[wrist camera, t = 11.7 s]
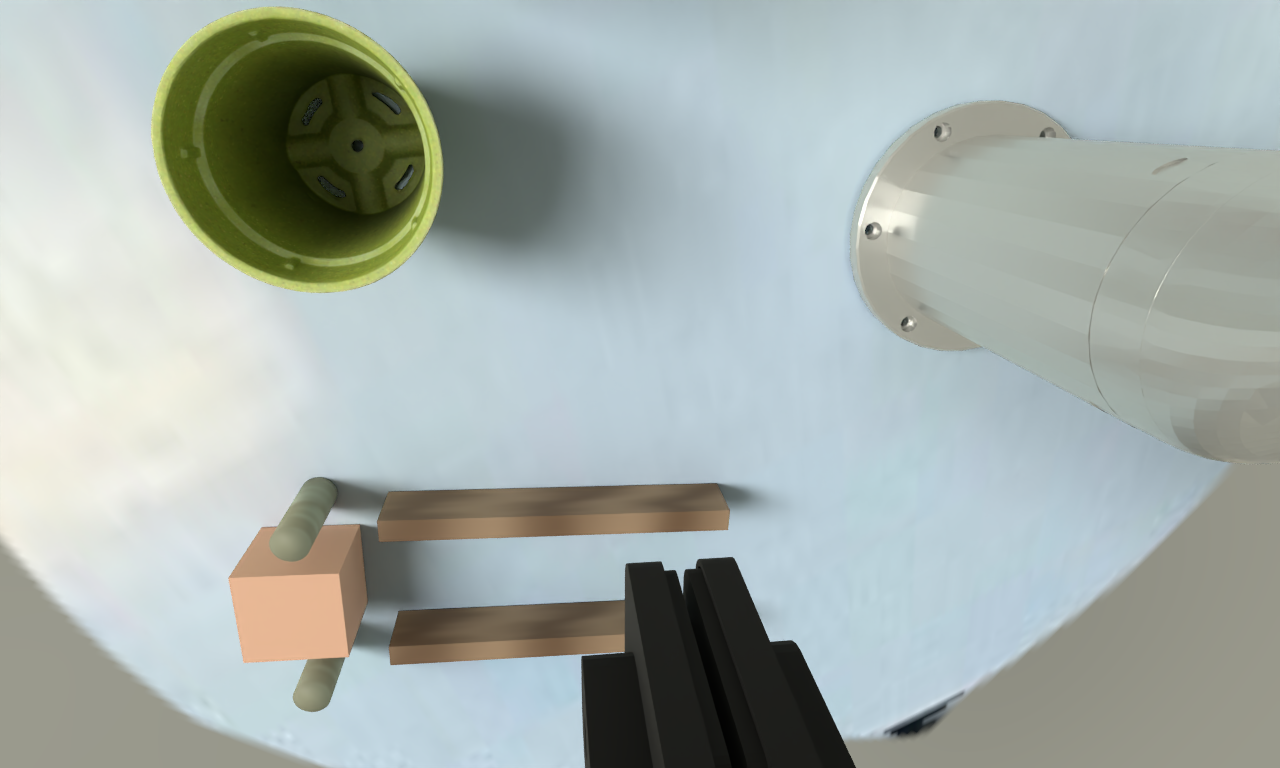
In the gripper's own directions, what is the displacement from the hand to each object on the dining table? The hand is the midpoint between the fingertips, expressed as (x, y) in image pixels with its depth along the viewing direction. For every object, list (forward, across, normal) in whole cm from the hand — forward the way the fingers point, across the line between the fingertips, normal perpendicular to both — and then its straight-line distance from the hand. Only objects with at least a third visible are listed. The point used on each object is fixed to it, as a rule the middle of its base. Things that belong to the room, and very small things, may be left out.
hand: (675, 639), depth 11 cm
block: (+27, +15, +16) cm, 35 cm away
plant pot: (+27, +10, -6) cm, 30 cm away
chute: (+27, +4, +16) cm, 32 cm away
